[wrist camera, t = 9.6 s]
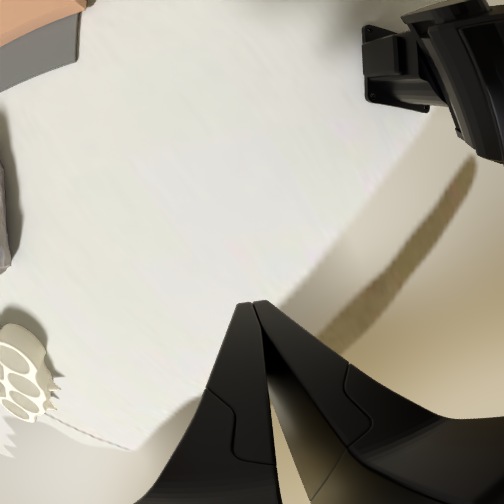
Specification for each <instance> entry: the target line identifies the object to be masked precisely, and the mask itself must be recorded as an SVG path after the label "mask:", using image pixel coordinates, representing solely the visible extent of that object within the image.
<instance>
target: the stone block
mask: <svg viewBox="0 0 504 504" xmlns="http://www.w3.org/2000/svg"><path fill="white" fill-rule="evenodd" d="M9 266H11V255H10V250H9V246H8V232H7V228H6V203H5V187H4V168H3V166H2V164H1V162H0V274H2V273H3V272H5V271H6V269H7V268H8V267H9Z"/></svg>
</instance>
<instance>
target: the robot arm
mask: <svg viewBox="0 0 504 504" xmlns="http://www.w3.org/2000/svg"><path fill="white" fill-rule="evenodd" d="M401 19H402V20H403V22H404V23H405V24H407V25H408V27H409V29H410V31H406V32H402V33H395V32H392V31H389V30H386V29H382V28H379V27H375V26H372V25H366V26H363V28H362V38H363V45H362V58H363V74H364V78H365V99H366V100H367V101H368V102H370V103H375V104H381V105H387V106H393V107H398V108H403V109H408V110H413V111H417V112H422V113H428V112H429V110H430V105H435V106H444V107H449V110H450V112H451V115H452V118H453V120H454V123H455V126H456V128H455V130H456V133H457V136H458V137H459V138H461V139H462V140H464V141H465V142H466V143H467V144H468V145H469V146H471V147H472V148H473V149H475V150H476V153H477V155H478V156H480V157H482V158H485V159H488V160H491V161H494V162H497V163H500V164H503V165H504V5H496V6H489V5H488V3H487V1H486V0H447V1H443V2H439V3H436V4H433V5H430V6H427V7H425V8H422V9H419V10H416V11H414V12H411V13H409V14H406V15H404V16H401ZM367 29H369V30H370V33H369V32H368V30H367ZM371 94H372V95H373V99H371V97H370V95H371ZM424 106H425V109H424ZM269 395H270V398H271V401H272V404H273V406H274V409H275V412H276V414H277V417H278V420H279V423H280V426H281V428H282V431H283V434H284V436H285V439H286V441H287V444H288V447H289V449H290V452H291V455H292V457H293V460H294V462H295V465H296V468H297V470H298V472H299V475H300V478H301V480H302V483H303V485H304V488H305V490H306V493H307V495H308V498H309V500H310V501H311V504H504V416H503V417H493V418H478V419H451V418H446V417H443V416H440V415H437V414H435V413H433V412H431V411H429V410H427V409H425V408H423V407H421V406H419V405H417V404H416V403H414V402H412V401H410V400H408V399H406V398H404V397H403V396H401V395H399V394H397V393H395V392H393V391H392V390H390V389H388V388H387V387H385V386H383V385H382V384H380V383H378V382H377V381H375V380H373V379H372V378H371V377H369V376H368V375H366V374H365V373H363V372H362V371H360V370H359V369H358V368H356V367H355V366H354V365H352V364H349V362H348V361H347V360H345V359H344V358H343V357H341V356H340V355H339V354H337V353H336V352H335V351H333V350H332V349H331V348H329V347H328V346H327V345H325V344H324V343H323V342H321V341H320V340H319V339H317V338H316V337H315V336H313V335H312V334H311V333H309V332H308V331H307V330H305V329H304V328H303V327H301V326H300V325H299V324H297V323H296V322H295V321H294V320H292V319H291V318H290V317H288V316H287V315H286V314H284V313H283V312H282V311H281V310H279V309H278V308H277V307H275V306H274V305H273V304H271V303H270V302H269V301H267V300H261V301H254V302H253V303H251V302H245V303H238V304H237V305H236V308H235V311H234V313H233V316H232V319H231V321H230V324H229V326H228V329H227V332H226V334H225V337H224V340H223V342H222V345H221V348H220V350H219V353H218V356H217V358H216V361H215V364H214V366H213V369H212V371H211V374H210V377H209V379H208V382H207V385H206V389H205V390H204V392H203V395H202V397H201V400H200V402H199V405H198V407H197V409H196V412H195V414H194V416H193V418H192V420H191V422H190V424H189V426H188V428H187V430H186V432H185V433H184V435H183V437H182V439H181V440H180V442H179V444H178V446H177V447H176V449H175V451H174V452H173V454H172V456H171V457H170V459H169V461H168V462H167V464H166V466H165V467H164V469H163V471H162V472H161V474H160V476H159V477H158V479H157V480H156V482H155V483H154V484H153V486H152V487H151V488H150V489H149V491H148V492H147V493H146V494H145V495H144V496H143V497H142V498H140V499H139V500H138V501H137V502H135V503H134V504H282V499H281V494H280V488H279V481H278V473H277V468H276V456H275V446H274V436H273V427H272V418H271V408H270V399H269Z"/></svg>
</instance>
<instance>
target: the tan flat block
mask: <svg viewBox="0 0 504 504" xmlns="http://www.w3.org/2000/svg"><path fill="white" fill-rule="evenodd" d="M86 4H87V0H0V47H2V46H4V45H5V44H7V43H9V42H11V41H13V40H15V39H17V38H19V37H21V36H23V35H25V34H27V33H29V32H31V31H33V30H35V29H38V28H40V27H42V26H44V25H47V24H49V23H52V22H54V21H57V20H59V19H62V18H64V17H67V16H70V15H73V14H76V13H79V12H82V11H85V10H86Z"/></svg>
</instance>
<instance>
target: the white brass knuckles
mask: <svg viewBox="0 0 504 504" xmlns="http://www.w3.org/2000/svg"><path fill="white" fill-rule="evenodd" d="M45 354H46V351H45V348H44V347H43V345H42V344H41V342H40V341H39V340H38V339H37V338H36V337H35V336H34V335H33V334H32V333H31V332H30V331H28V330H27V329H25V328H24V327H22V326H19V325H17V324H12V323H9V324H6V325H4V326H3V328H2V329H1V330H0V403H1V404H2V405H3V406H4V408H5V409H6V410H8V411H9V412H10V413H11V414H13V415H14V416H16V417H18V418H20V419H22V420H24V421H27V422H35V421H36V419H37V416H38V415H42V414H43V413H44V412H45V411H46V410H47V409H51V410H57V409H56V408H55V406H54V405H53V403H52V402H51V401H50V397H51V393H50V391H55V390H61V388H59V387H58V386H57V385H56V384H55V383H54V382H53V379H52V375H51V372H50V371H49V370H48V368H47V367H46V365H45V363H44V356H45Z"/></svg>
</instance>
